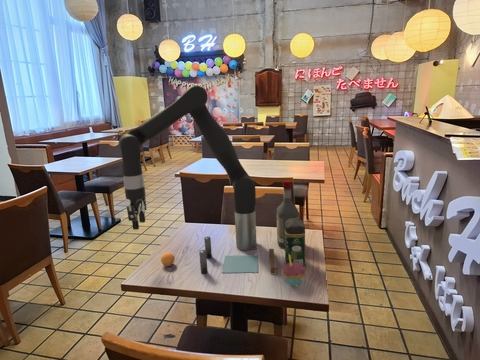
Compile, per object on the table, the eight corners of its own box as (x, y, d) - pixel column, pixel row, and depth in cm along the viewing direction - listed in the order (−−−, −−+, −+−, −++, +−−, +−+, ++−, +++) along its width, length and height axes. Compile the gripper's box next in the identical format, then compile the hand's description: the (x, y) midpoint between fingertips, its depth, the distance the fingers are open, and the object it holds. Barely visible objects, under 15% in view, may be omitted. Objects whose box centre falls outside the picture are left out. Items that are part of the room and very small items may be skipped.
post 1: (208, 270, 126) (206, 249, 124) (207, 274, 123) (205, 253, 121) (201, 270, 126) (199, 250, 124) (200, 274, 123) (198, 253, 121)
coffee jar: (284, 258, 133) (283, 216, 128) (303, 258, 132) (303, 216, 128) (285, 270, 123) (285, 225, 119) (306, 270, 123) (306, 225, 118)
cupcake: (291, 291, 110) (290, 259, 107) (277, 280, 117) (276, 250, 114) (310, 284, 114) (311, 253, 111) (296, 273, 121) (296, 244, 118)
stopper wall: (273, 253, 137) (273, 248, 136) (276, 273, 121) (276, 267, 121) (269, 254, 137) (268, 248, 136) (270, 273, 122) (270, 267, 121)
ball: (176, 261, 134) (175, 249, 133) (173, 268, 129) (172, 256, 128) (163, 262, 134) (162, 250, 133) (160, 268, 129) (158, 256, 128)
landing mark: (257, 255, 136) (257, 254, 136) (257, 272, 123) (257, 272, 123) (225, 256, 137) (225, 255, 137) (221, 273, 124) (221, 272, 124)
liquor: (295, 239, 150) (295, 178, 143) (300, 248, 141) (299, 183, 134) (276, 240, 150) (275, 179, 142) (279, 249, 141) (278, 184, 134)
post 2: (212, 255, 138) (210, 236, 136) (211, 258, 136) (210, 239, 133) (206, 255, 138) (204, 236, 136) (205, 258, 136) (203, 239, 134)
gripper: (137, 190, 117) (142, 232, 121) (149, 181, 131) (154, 219, 135) (117, 191, 117) (123, 233, 121) (132, 181, 131) (136, 219, 135)
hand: (139, 225), depth 128 cm, fingers open, 7 cm apart
